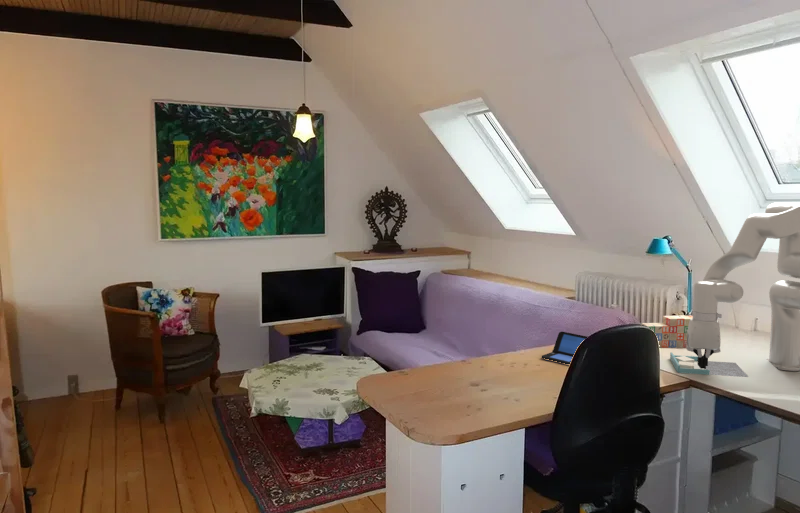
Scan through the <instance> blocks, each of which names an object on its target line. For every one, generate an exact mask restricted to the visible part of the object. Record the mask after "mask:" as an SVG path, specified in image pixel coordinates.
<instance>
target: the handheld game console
mask: <svg viewBox="0 0 800 513" xmlns="http://www.w3.org/2000/svg"><path fill="white" fill-rule="evenodd" d="M587 337H588V336H587V335H581V334H577V333H572V332H567V331H559V332H558V334H557V337H556V340H555V342H554V347H553V349H552V352H548V353H546V354H543V355H541V359H542V358H545V359H549V360H553V361H557V362H561V363H565V364H570V362H571V359H572V357H573V355H574V353H575V351H576V349H577V347H578V346H579V345H580V343H581V342H582V341H583V340H584V339H586V338H587Z"/></svg>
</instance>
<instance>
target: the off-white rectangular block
mask: <svg viewBox="0 0 800 513" xmlns="http://www.w3.org/2000/svg"><path fill="white" fill-rule="evenodd" d="M679 365H680V368H689V369H695V362H694V363H692V362H683V361H679Z"/></svg>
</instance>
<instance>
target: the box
mask: <svg viewBox="0 0 800 513" xmlns="http://www.w3.org/2000/svg"><path fill="white" fill-rule="evenodd" d="M680 356H681V355H675V354H674V353H673V352H670V354H669V357H670V358H669V359H670V362H671V363H672V365H673V366H674V369H675V370H676V372H677V373H678V374H694V375H709V372H710V370H706V369H704V368H702V369H701V368H694V369H689V368H680V365H679V363H678V362H677V360H676V358H675V357H680ZM684 356H685V357H688V358H691V359H694V362H698V356H697V355H696V356H692V355H684ZM709 376H710V375H709Z"/></svg>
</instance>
